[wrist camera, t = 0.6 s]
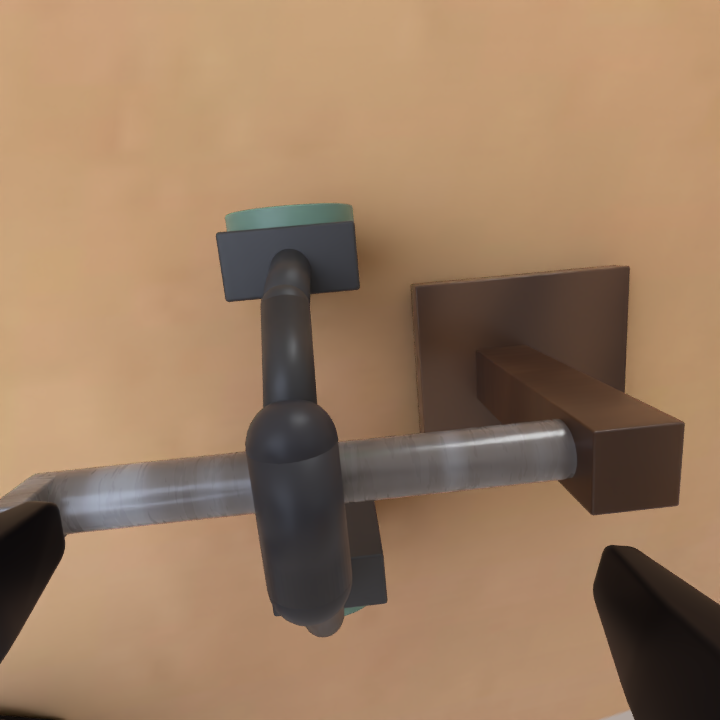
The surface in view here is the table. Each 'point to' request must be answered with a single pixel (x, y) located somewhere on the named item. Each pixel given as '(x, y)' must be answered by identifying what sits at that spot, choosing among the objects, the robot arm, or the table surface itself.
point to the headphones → (301, 417)
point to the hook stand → (451, 415)
